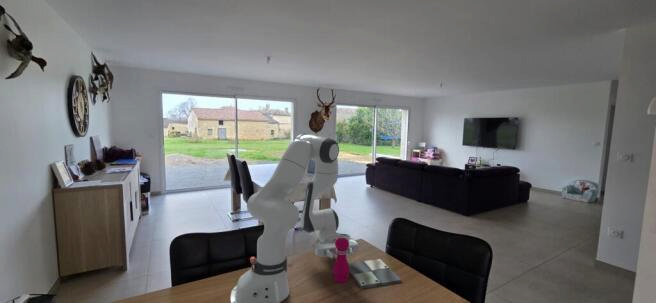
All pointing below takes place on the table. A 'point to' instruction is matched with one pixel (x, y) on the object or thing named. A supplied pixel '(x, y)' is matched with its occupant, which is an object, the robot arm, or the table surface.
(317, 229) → the robot arm
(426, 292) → the table surface
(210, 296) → the table surface
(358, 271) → the tile board
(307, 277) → the table surface
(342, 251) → the pepper mill
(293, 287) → the table surface
